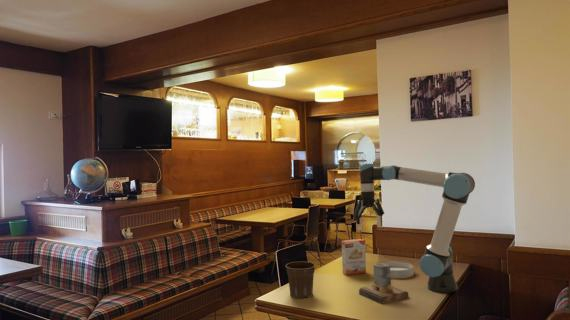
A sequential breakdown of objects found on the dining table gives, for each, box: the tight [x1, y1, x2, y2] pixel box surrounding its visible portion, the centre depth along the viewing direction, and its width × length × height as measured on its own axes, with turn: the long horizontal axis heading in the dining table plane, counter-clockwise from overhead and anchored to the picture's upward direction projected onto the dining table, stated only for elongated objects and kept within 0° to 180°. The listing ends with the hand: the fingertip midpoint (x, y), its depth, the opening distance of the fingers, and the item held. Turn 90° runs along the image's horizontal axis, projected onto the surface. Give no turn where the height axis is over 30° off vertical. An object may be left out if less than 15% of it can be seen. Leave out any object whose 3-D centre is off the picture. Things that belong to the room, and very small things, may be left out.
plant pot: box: [285, 261, 316, 299], centre depth 216 cm, size 16×16×16 cm
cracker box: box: [341, 238, 367, 276], centre depth 253 cm, size 14×6×21 cm, turn 105°
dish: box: [378, 261, 415, 279], centre depth 248 cm, size 22×22×5 cm
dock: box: [358, 284, 409, 304], centre depth 209 cm, size 18×18×3 cm
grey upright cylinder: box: [372, 262, 393, 292], centre depth 209 cm, size 7×7×13 cm
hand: (369, 228), depth 225 cm, fingers open, 13 cm apart
